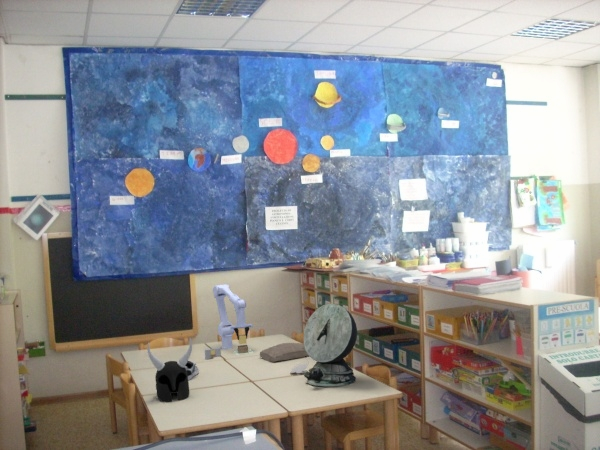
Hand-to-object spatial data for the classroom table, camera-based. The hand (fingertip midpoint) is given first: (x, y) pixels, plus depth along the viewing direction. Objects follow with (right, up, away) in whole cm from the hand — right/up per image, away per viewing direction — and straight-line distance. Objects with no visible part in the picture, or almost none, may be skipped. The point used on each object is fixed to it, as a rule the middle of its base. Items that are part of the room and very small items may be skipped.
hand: (242, 339), depth 406 cm
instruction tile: (-18, -11, -9) cm, 22 cm away
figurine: (+40, -8, -61) cm, 73 cm away
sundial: (+54, -7, -83) cm, 99 cm away
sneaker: (-26, -12, -52) cm, 59 cm away
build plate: (+1, -9, 0) cm, 9 cm away
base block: (+1, -9, 0) cm, 8 cm away
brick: (0, -3, 0) cm, 3 cm away
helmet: (-27, -13, -90) cm, 95 cm away
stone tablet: (+30, -8, -17) cm, 35 cm away
